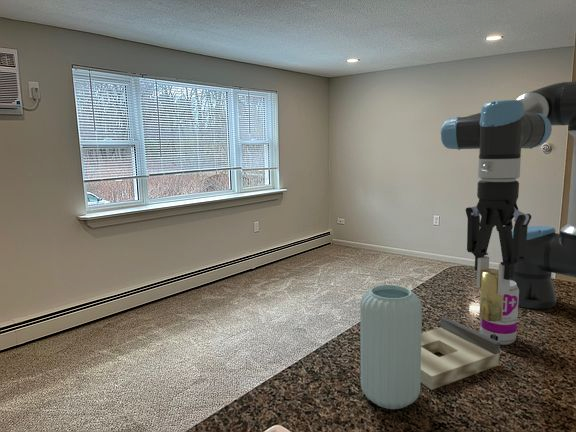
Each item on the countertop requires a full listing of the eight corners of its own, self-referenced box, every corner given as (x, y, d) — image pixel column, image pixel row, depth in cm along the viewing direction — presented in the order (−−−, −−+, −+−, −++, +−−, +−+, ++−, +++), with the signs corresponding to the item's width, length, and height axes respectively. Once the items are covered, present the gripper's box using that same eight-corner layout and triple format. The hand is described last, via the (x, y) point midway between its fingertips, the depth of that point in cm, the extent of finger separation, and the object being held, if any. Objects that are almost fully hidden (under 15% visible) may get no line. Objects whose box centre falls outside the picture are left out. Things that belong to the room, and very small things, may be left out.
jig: (444, 337, 108) (445, 316, 107) (498, 365, 94) (500, 342, 93) (382, 355, 100) (382, 334, 99) (431, 389, 86) (432, 365, 85)
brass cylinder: (488, 311, 92) (491, 268, 91) (506, 318, 89) (509, 273, 87) (474, 315, 91) (477, 271, 89) (492, 323, 87) (495, 276, 85)
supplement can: (520, 346, 102) (524, 288, 100) (484, 344, 104) (487, 286, 101) (510, 332, 110) (513, 277, 107) (476, 330, 112) (478, 276, 109)
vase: (357, 381, 90) (356, 282, 86) (411, 380, 89) (413, 280, 85) (365, 416, 78) (364, 303, 75) (427, 415, 78) (430, 301, 74)
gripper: (450, 178, 91) (447, 281, 95) (527, 183, 75) (520, 306, 79) (474, 176, 94) (470, 276, 98) (553, 181, 79) (544, 299, 83)
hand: (492, 289), depth 89 cm, fingers closed on brass cylinder, 4 cm apart
